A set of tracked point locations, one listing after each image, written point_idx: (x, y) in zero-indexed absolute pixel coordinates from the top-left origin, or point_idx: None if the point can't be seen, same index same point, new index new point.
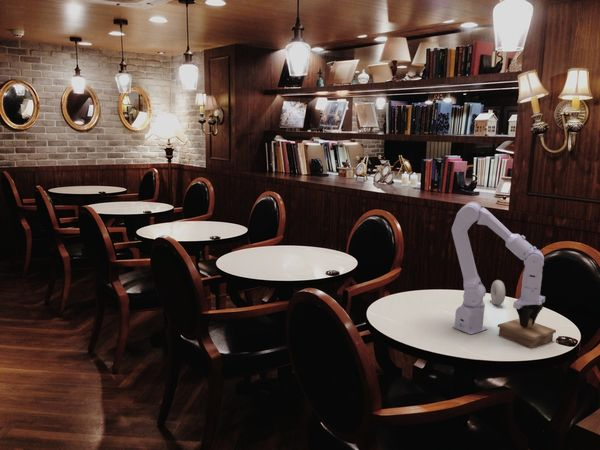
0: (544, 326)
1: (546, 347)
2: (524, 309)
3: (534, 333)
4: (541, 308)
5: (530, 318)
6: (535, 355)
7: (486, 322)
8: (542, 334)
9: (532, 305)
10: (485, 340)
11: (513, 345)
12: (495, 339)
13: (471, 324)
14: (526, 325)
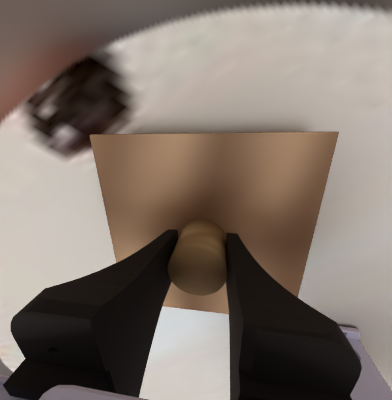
0: (108, 199)
1: (222, 104)
2: (346, 388)
3: (252, 169)
4: (64, 291)
5: (174, 266)
6: (379, 62)
7: (201, 338)
8: (224, 133)
9: (117, 375)
10: (368, 279)
11: (329, 197)
12: (324, 265)
13: (362, 371)
14: (239, 238)
